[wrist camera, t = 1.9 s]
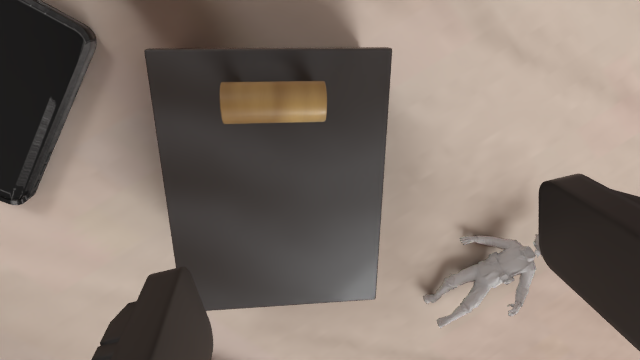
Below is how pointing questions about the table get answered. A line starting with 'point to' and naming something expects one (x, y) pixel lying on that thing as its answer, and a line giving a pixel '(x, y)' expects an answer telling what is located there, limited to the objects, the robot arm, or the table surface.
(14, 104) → the phone
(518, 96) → the table surface
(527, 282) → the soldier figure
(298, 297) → the pen box lid
